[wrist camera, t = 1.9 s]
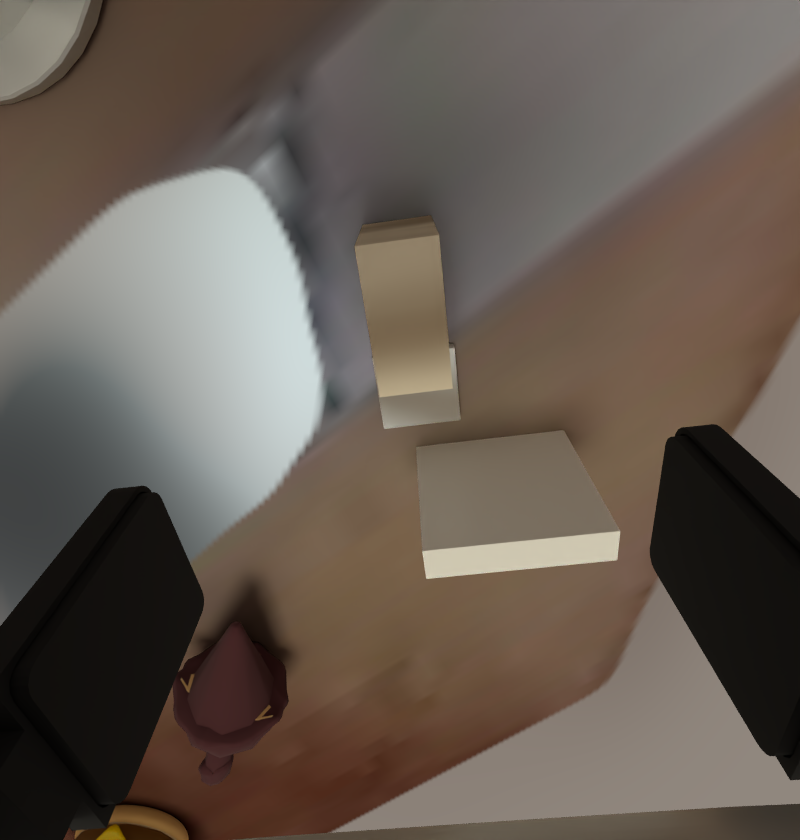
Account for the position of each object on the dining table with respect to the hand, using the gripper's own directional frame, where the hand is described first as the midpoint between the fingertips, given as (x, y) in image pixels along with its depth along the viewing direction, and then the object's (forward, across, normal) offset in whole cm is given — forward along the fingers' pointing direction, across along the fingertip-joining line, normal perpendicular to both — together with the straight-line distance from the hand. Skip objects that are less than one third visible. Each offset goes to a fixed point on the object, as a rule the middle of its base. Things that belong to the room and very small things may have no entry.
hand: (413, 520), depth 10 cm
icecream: (+16, +14, +24) cm, 32 cm away
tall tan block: (+16, 0, +2) cm, 16 cm away
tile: (+16, -4, +9) cm, 19 cm away
